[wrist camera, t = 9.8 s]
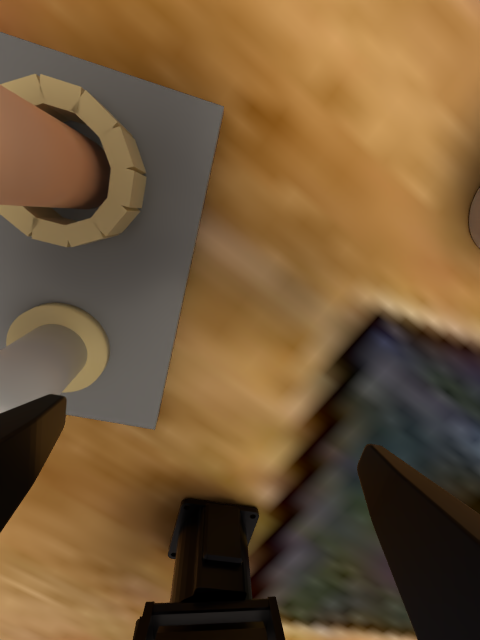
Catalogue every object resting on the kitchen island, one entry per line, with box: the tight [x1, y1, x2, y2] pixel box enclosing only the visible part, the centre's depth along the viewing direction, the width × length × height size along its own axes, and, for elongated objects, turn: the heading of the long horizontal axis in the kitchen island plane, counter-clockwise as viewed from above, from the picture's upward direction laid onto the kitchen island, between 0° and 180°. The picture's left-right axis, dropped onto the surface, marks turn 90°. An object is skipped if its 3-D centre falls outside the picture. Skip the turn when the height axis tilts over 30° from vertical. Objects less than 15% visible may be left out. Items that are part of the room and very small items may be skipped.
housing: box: [0, 32, 224, 430], centre depth 15 cm, size 20×13×8 cm, turn 165°
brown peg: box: [0, 85, 111, 209], centre depth 12 cm, size 4×4×8 cm
